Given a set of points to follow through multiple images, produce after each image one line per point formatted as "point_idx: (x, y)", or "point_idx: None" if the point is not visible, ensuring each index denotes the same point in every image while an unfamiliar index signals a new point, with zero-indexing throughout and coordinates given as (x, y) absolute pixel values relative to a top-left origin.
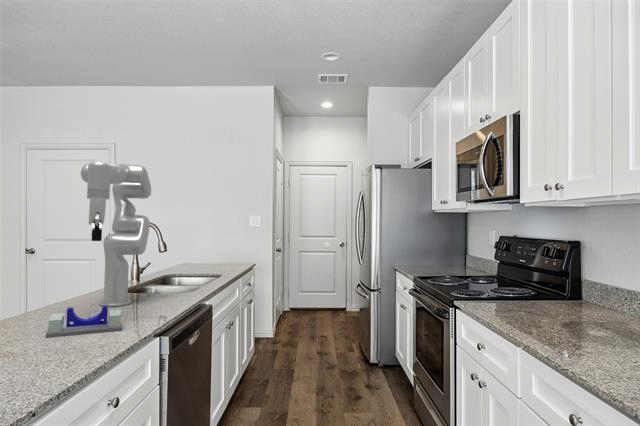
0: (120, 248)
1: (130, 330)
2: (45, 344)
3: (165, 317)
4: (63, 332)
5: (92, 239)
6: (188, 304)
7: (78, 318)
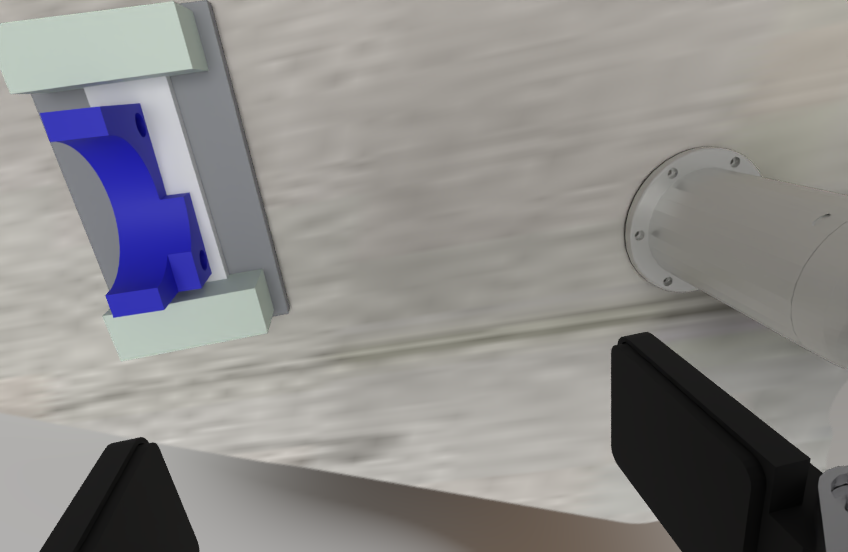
0: None
1: (138, 366)
2: None
3: (350, 457)
4: (37, 107)
5: (104, 468)
6: (570, 507)
7: (113, 164)
